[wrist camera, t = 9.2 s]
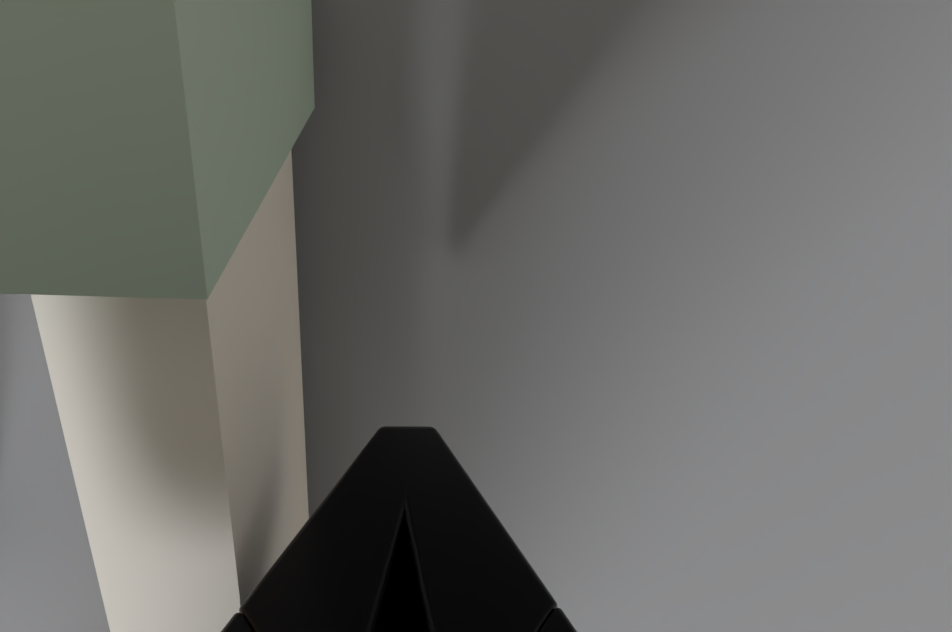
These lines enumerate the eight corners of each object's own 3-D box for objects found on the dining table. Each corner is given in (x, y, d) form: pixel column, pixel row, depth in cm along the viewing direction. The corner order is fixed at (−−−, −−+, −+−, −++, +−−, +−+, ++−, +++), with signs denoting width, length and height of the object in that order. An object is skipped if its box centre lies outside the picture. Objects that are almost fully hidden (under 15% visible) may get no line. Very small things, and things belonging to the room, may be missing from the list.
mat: (230, 981, 20) (226, 999, 20) (-586, -17, 8) (-629, -15, 8) (1193, 797, 20) (1207, 812, 19) (1875, -580, 8) (1948, -606, 7)
